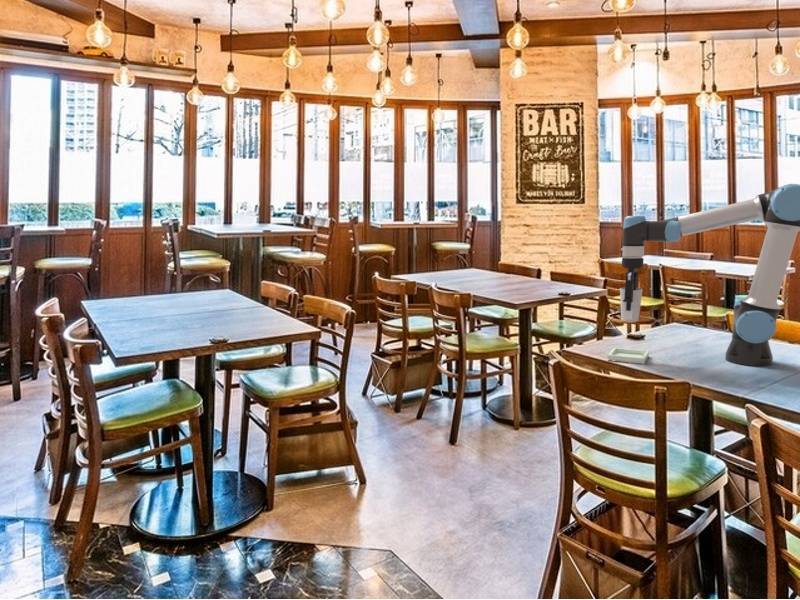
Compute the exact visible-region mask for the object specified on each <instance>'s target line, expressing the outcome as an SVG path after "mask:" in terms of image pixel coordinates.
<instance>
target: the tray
mask: <svg viewBox="0 0 800 600" xmlns="http://www.w3.org/2000/svg"><path fill="white" fill-rule="evenodd" d="M649 352H650V351H649V350H642V349H632V348H631V349H630V348H623V347H622V348H621V347H613V348H612V349H611V351H609V353H608V354H607V359H609V360H615V361H614V362H616V361H621V362H620V363H625V362H629V363H628V364H636V365H645V363H646V362H647V360H648V358H649V355H650V353H649Z"/></svg>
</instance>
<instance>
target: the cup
mask: <svg viewBox="0 0 800 600" xmlns="http://www.w3.org/2000/svg"><path fill="white" fill-rule="evenodd" d="M619 295H620V320H621V321H623V322H631V323H632V322H639V320H640V312H641V305H642V297H643V288H642V287H641V288H639V287H637V288H636V290H633V316H632V319H624V317H625V302H623V300H624V299H625V287H620V288H619Z"/></svg>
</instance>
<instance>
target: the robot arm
mask: <svg viewBox="0 0 800 600" xmlns="http://www.w3.org/2000/svg"><path fill="white" fill-rule="evenodd" d="M752 221H761V222H763V223H764V224H765V226H766V227H767V230H766V233H765V236H764V239H763V244H762V247H761V250H760V253H759V257H758V260H757V264H756V267H755V271H754V274H753V278H752V281H751V285H750V288H749V292H748V294H747V296H746V297H744V298H741V299H736V300H735V301H734V305H733V318H732V319H733V320H732V332H731V333H732V335H731V340H730V343H729V344H728V346H727V349H726V351H725V360H726V361H727V362H730V363H734V364H738V365H741V366H742V365H743V366H744V365H745V366H751V367H752V366H754V367H755V366H756V367H766V366H770V365H773V362H774V361H773V360H774V357H773V353H772V350H771V345H770V344H769V343H770V342H769V340H770V339H771V338H772V337H774V335H775V333H776V331H777V319H778V316H779V313H780V310H781V307H780V305H779V303H778V298H779V295H780V291H781V289H782V284H783V283H784V278H785V276H786V272H787V269H788V265H789V262H790V259H791V255H792V252H793V248H794V245H795V242H796V240H797V235H798V233H799V232H800V184H798V183H788V184H784V185H782V186H779V187H777V188H776V189H773V190H770V191H767V192H765V193H759V194H756V196H754V198H751V199H748V200H747V199H746V200H744V201H743V200H742V201H739V202H734V203H731V204H727V205H723V206H718V207H714V208H710V209H705V210H701V211H698V212H693V213H689V214H683V215H680V216H677V217H673V218H667V219H666V218H665V219H663V220H647V219H646V216H645V215H627V216H625V217H624V219H623V228H622V248H620V251H622V258H621V267H622V268H623V269H627V272H625V287H624V288H625V299H624V300H623V302H625V317H624V319H632V316H633V290H636V288H638V282H639V281H638V280H639V279H638V277H639V271H638V270H637V269H643V267H644V256H645V243H646V242H658V243H659V242H660V243H661V242H665V243H674V242H675V243H676V242H679V241H680V239H681V237H685V236H688V235H693V234H698V233H703V232H707V231H712V230H717V229H720V228H721V229H722V228H726V227H730V226H735V225H740V224H743V223H748V222H752Z"/></svg>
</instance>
